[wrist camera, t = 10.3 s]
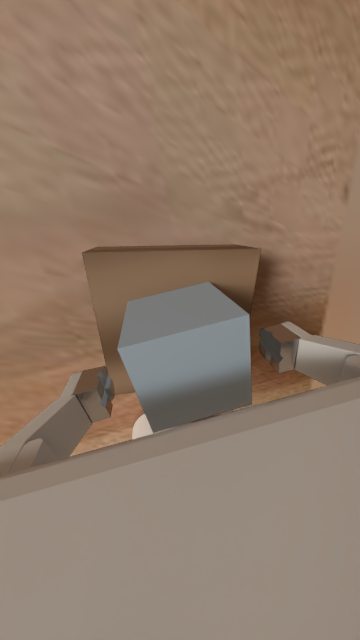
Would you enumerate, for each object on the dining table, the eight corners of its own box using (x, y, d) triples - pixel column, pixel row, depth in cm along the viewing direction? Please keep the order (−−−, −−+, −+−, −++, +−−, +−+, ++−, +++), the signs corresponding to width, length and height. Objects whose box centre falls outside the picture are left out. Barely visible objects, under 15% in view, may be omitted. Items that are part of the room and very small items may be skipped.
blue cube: (127, 301, 11) (117, 348, 7) (208, 281, 12) (249, 314, 7) (150, 365, 14) (153, 432, 9) (217, 347, 14) (252, 404, 9)
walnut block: (98, 246, 13) (81, 252, 10) (232, 244, 15) (261, 248, 11) (118, 361, 18) (112, 395, 14) (221, 350, 19) (239, 378, 16)
